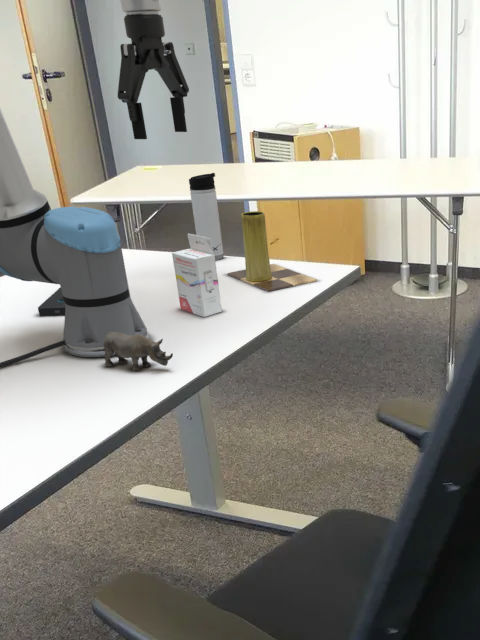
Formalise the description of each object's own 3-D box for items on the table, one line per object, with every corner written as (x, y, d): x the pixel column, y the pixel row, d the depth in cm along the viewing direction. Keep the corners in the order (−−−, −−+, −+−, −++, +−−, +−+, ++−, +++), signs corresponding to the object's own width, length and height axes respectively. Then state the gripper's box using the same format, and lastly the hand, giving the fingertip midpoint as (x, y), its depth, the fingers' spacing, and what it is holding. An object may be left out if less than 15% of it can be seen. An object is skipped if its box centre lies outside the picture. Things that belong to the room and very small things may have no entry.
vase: (274, 275, 180) (268, 210, 172) (269, 282, 175) (263, 216, 167) (249, 275, 180) (242, 210, 172) (243, 282, 175) (236, 216, 167)
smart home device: (35, 307, 158) (64, 282, 175) (37, 316, 159) (66, 289, 176) (75, 306, 158) (100, 280, 175) (77, 314, 159) (102, 288, 176)
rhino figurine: (168, 376, 129) (162, 341, 125) (101, 367, 133) (93, 334, 130) (181, 367, 132) (175, 333, 128) (115, 359, 136) (108, 326, 133)
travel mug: (223, 260, 195) (212, 175, 183) (197, 261, 195) (185, 176, 184) (226, 254, 200) (216, 171, 189) (202, 255, 200) (190, 172, 189)
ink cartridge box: (179, 310, 160) (167, 236, 152) (198, 304, 163) (187, 232, 155) (204, 317, 155) (193, 242, 147) (223, 311, 158) (213, 237, 150)
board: (268, 291, 170) (268, 290, 169) (227, 274, 183) (227, 273, 183) (316, 281, 176) (316, 279, 176) (273, 265, 189) (273, 263, 189)
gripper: (114, 12, 139) (137, 142, 150) (195, 13, 157) (210, 129, 169) (83, 14, 141) (107, 142, 153) (166, 14, 160) (182, 128, 172)
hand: (161, 135), depth 161 cm, fingers open, 13 cm apart
